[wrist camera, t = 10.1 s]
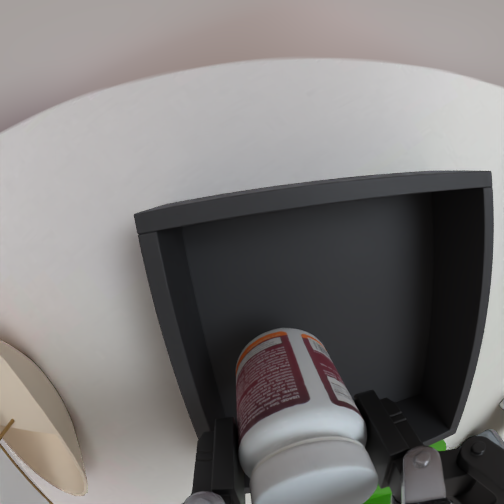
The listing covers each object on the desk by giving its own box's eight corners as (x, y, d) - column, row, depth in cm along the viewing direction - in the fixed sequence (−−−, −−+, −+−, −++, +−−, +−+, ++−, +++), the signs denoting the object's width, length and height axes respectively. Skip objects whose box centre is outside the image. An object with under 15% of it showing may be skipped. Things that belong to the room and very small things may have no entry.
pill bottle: (232, 399, 15) (234, 533, 7) (239, 322, 14) (246, 465, 6) (317, 400, 16) (361, 521, 7) (335, 326, 15) (414, 447, 6)
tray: (166, 204, 17) (133, 214, 11) (431, 170, 17) (491, 171, 11) (223, 437, 21) (222, 495, 15) (421, 391, 21) (455, 433, 15)
